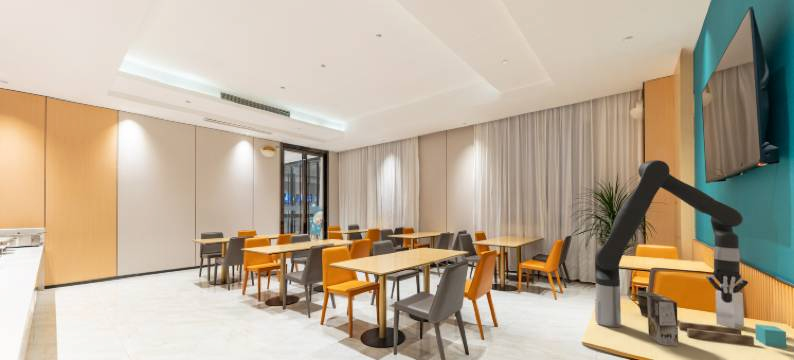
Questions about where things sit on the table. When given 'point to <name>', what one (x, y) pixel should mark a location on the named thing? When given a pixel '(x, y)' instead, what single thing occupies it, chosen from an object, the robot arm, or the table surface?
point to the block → (771, 336)
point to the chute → (716, 333)
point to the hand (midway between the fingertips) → (726, 302)
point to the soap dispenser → (730, 310)
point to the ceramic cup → (643, 301)
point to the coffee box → (662, 320)
